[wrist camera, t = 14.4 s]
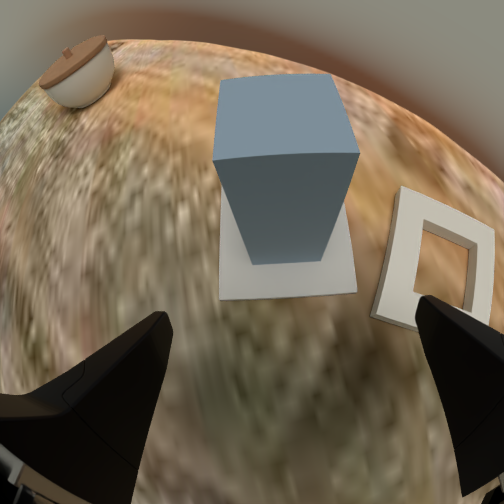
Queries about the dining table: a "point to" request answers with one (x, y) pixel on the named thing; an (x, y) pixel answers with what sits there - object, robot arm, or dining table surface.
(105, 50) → the lidded bowl
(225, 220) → the grey mat
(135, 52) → the dining table surface
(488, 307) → the pocket holder
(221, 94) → the slate-blue block
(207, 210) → the dining table surface
